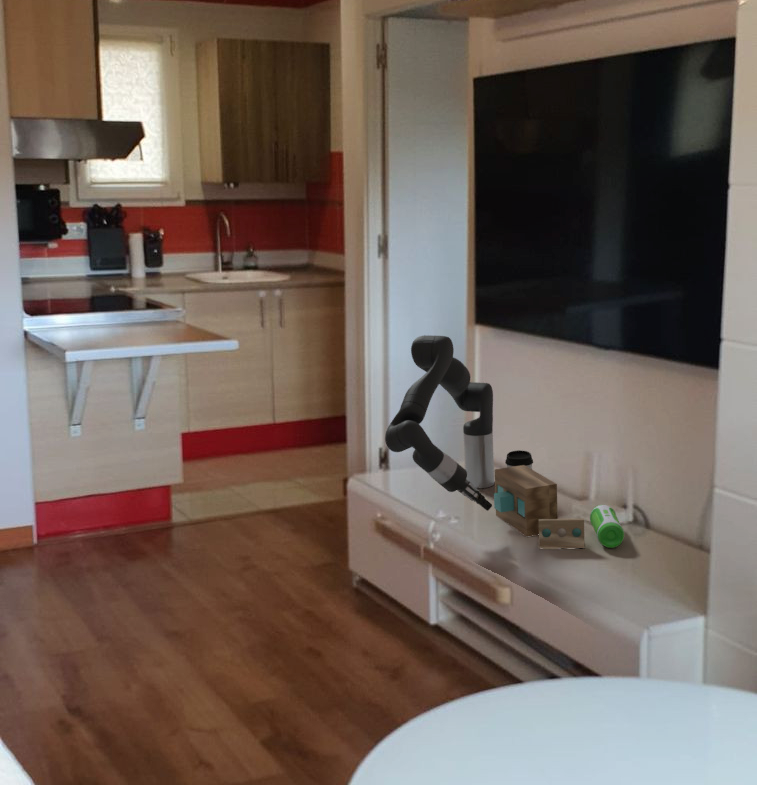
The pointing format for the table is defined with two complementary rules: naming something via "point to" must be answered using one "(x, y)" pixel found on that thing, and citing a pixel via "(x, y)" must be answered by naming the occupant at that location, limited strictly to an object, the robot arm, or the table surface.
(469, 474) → the robot arm
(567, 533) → the board
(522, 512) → the button
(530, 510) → the button panel
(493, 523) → the table surface
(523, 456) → the coffee cup
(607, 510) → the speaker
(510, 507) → the button middle
